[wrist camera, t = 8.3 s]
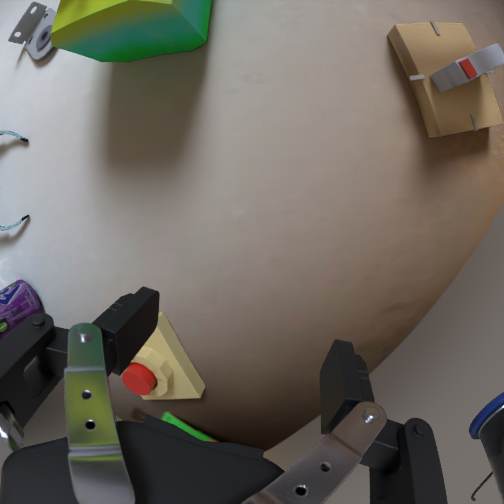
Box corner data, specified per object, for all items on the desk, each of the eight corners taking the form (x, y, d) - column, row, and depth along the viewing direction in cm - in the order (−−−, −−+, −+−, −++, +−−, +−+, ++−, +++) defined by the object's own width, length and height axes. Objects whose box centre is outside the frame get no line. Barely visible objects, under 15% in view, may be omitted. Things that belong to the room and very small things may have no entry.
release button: (162, 385, 28) (156, 395, 26) (139, 386, 29) (132, 395, 27) (146, 361, 27) (139, 371, 25) (123, 363, 28) (116, 372, 26)
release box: (205, 385, 31) (196, 408, 28) (150, 389, 34) (138, 408, 30) (163, 311, 29) (146, 331, 25) (108, 323, 31) (90, 340, 27)
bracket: (44, 67, 22) (25, 64, 18) (23, 43, 20) (7, 40, 17) (73, 24, 19) (55, 17, 16) (48, 6, 18) (32, 1, 15)
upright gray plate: (470, 56, 13) (499, 42, 9) (480, 71, 14) (510, 60, 9) (429, 75, 15) (456, 60, 11) (440, 92, 16) (469, 81, 11)
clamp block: (496, 125, 17) (511, 124, 14) (418, 141, 19) (432, 140, 17) (459, 30, 14) (471, 22, 12) (375, 35, 17) (383, 23, 14)
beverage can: (42, 288, 32) (-16, 328, 21) (47, 326, 34) (-2, 367, 23) (16, 270, 32) (-38, 302, 21) (21, 306, 35) (-26, 341, 23)
